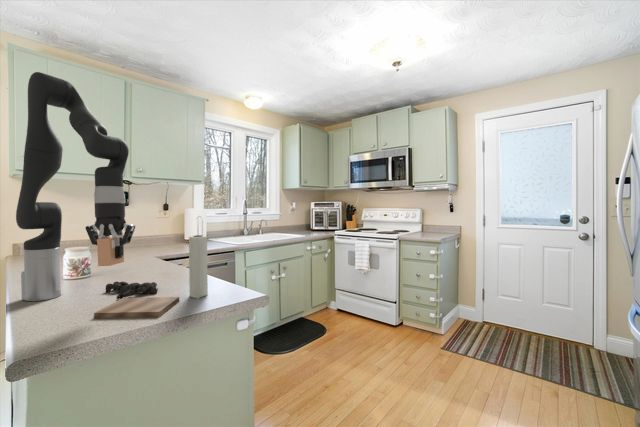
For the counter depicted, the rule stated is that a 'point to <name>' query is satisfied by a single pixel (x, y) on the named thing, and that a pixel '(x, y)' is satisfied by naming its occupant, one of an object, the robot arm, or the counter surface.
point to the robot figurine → (131, 288)
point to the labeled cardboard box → (107, 252)
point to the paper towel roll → (198, 266)
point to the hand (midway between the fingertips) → (111, 258)
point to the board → (137, 307)
